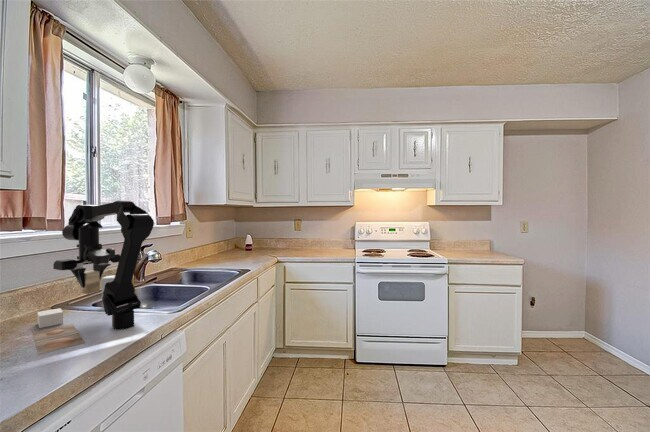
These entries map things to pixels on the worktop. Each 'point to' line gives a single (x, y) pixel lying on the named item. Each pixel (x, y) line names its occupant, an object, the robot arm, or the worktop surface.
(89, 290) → the tan rectangular block
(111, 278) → the skincare box
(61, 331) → the board
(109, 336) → the worktop surface
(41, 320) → the block
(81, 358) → the worktop surface
